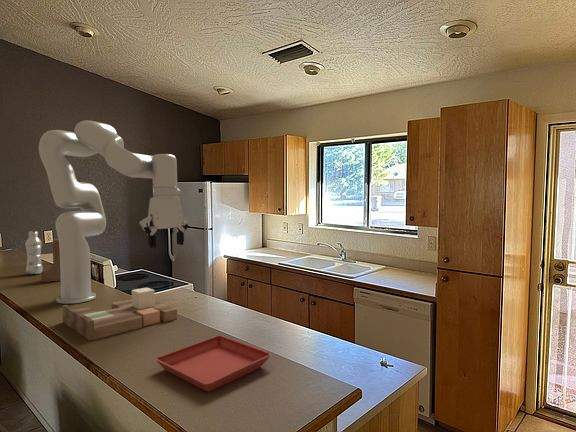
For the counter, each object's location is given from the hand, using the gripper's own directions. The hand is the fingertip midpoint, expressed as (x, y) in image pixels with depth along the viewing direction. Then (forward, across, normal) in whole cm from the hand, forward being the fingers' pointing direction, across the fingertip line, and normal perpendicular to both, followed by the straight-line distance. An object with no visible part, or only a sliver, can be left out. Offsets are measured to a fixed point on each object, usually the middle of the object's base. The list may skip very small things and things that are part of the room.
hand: (166, 246), depth 129 cm
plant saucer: (+22, +15, +47) cm, 54 cm away
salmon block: (+21, +10, +7) cm, 25 cm away
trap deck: (+21, +15, 0) cm, 26 cm away
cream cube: (+18, +8, 0) cm, 20 cm away
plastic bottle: (+20, +15, -97) cm, 100 cm away
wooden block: (+20, +13, -75) cm, 79 cm away
